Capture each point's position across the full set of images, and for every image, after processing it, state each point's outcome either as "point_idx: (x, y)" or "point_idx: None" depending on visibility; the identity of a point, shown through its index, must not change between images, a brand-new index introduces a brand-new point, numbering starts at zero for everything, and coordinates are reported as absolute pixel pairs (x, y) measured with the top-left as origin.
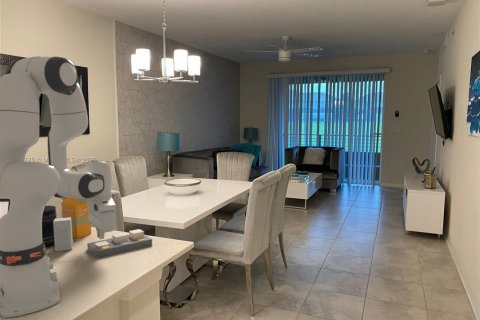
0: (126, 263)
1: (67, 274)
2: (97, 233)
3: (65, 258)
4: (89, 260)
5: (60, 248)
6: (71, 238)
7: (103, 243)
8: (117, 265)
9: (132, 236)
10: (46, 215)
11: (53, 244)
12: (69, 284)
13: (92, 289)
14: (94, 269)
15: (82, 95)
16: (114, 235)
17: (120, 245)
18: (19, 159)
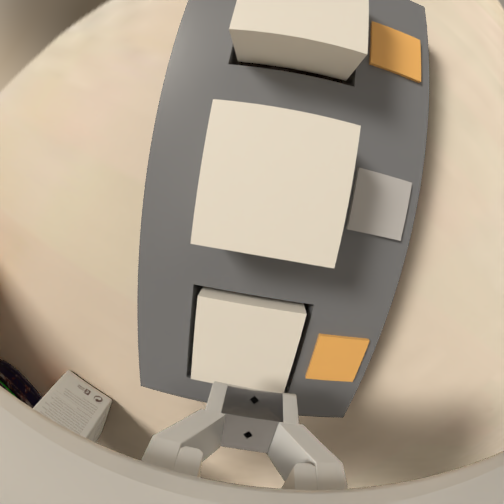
0: (500, 307)
1: (371, 477)
2: (216, 445)
3: (212, 456)
4: (330, 418)
5: (101, 430)
6: (78, 431)
7: (249, 341)
8: (482, 346)
9: (326, 61)
10: None
11: (37, 400)
12: (427, 473)
13: (491, 435)
14: (426, 422)
15: None
16: (251, 244)
17: (392, 252)
18: None
